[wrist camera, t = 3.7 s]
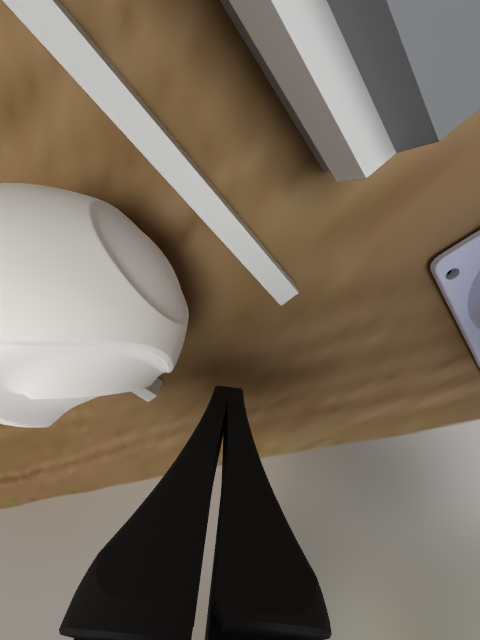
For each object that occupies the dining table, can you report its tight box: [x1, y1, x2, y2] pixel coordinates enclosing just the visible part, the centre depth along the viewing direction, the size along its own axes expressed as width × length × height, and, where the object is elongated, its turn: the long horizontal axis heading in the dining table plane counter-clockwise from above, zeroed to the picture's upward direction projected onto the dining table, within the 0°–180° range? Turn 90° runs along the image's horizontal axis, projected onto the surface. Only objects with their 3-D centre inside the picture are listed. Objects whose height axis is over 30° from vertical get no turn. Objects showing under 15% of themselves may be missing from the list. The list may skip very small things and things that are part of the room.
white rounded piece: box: [0, 183, 189, 427], centre depth 8 cm, size 8×8×8 cm
